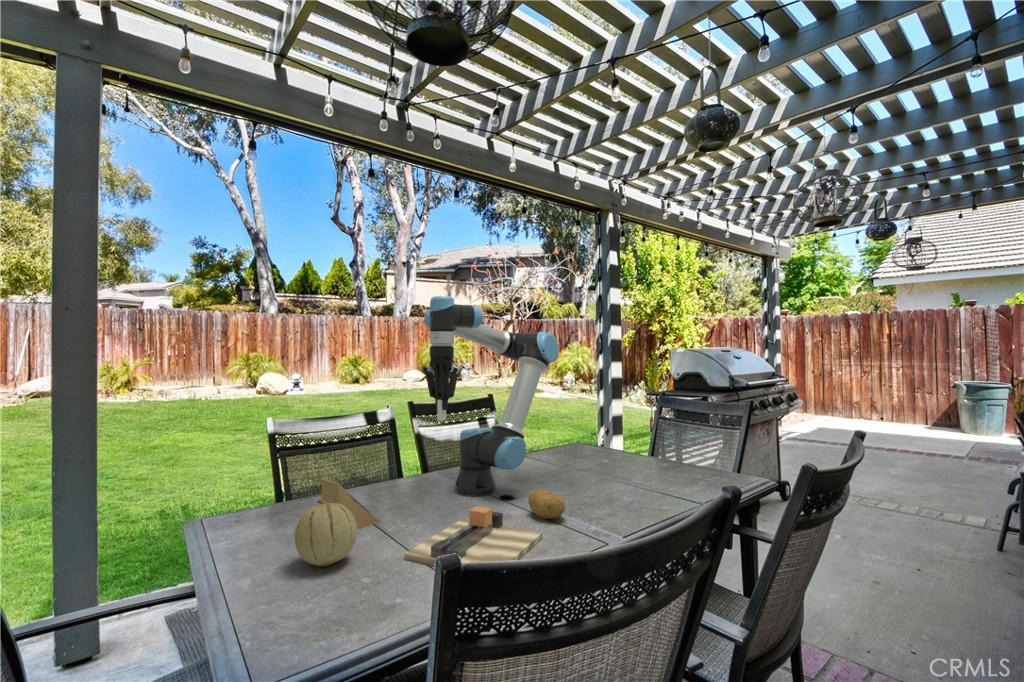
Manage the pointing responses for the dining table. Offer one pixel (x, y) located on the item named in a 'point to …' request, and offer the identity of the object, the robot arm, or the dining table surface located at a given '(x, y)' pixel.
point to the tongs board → (490, 548)
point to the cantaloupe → (325, 534)
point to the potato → (546, 504)
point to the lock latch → (480, 516)
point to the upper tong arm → (469, 540)
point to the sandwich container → (347, 503)
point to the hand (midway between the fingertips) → (441, 420)
